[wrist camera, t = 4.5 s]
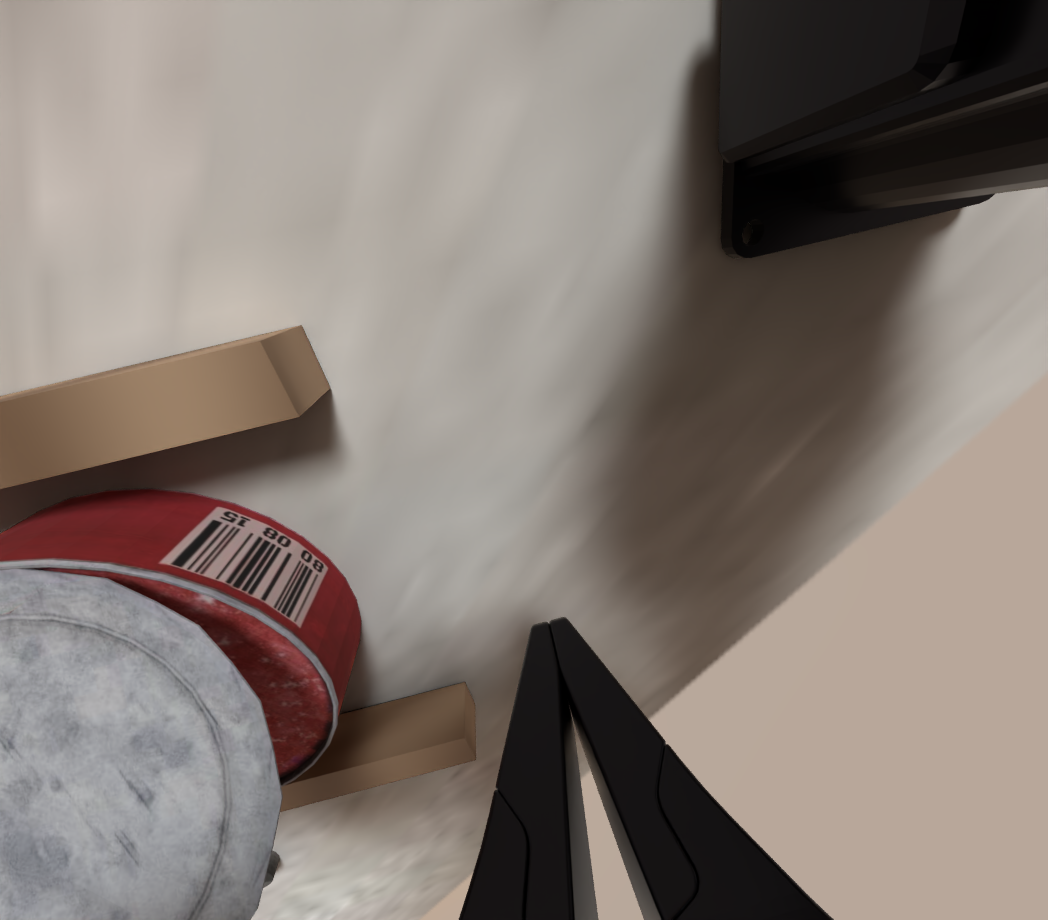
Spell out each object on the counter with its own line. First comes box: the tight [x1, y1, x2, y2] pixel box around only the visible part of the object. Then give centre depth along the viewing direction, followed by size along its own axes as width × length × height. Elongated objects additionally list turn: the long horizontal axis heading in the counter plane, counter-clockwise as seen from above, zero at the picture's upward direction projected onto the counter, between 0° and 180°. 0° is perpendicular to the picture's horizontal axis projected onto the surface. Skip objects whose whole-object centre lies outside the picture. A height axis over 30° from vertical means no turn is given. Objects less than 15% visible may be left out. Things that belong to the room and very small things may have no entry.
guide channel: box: [0, 325, 476, 812], centre depth 11 cm, size 22×15×2 cm
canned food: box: [0, 488, 361, 920], centre depth 10 cm, size 11×10×10 cm
